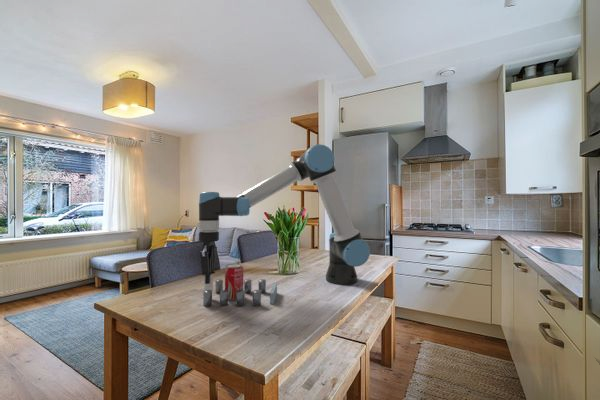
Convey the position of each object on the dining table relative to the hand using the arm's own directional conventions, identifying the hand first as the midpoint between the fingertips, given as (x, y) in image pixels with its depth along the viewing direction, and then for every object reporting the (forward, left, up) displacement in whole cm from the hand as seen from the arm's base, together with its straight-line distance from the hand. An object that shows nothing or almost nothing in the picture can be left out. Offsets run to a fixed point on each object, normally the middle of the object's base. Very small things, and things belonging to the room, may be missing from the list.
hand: (208, 291), depth 106 cm
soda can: (-10, 0, -3) cm, 11 cm away
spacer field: (-11, 0, -3) cm, 11 cm away
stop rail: (-26, 0, -3) cm, 26 cm away
